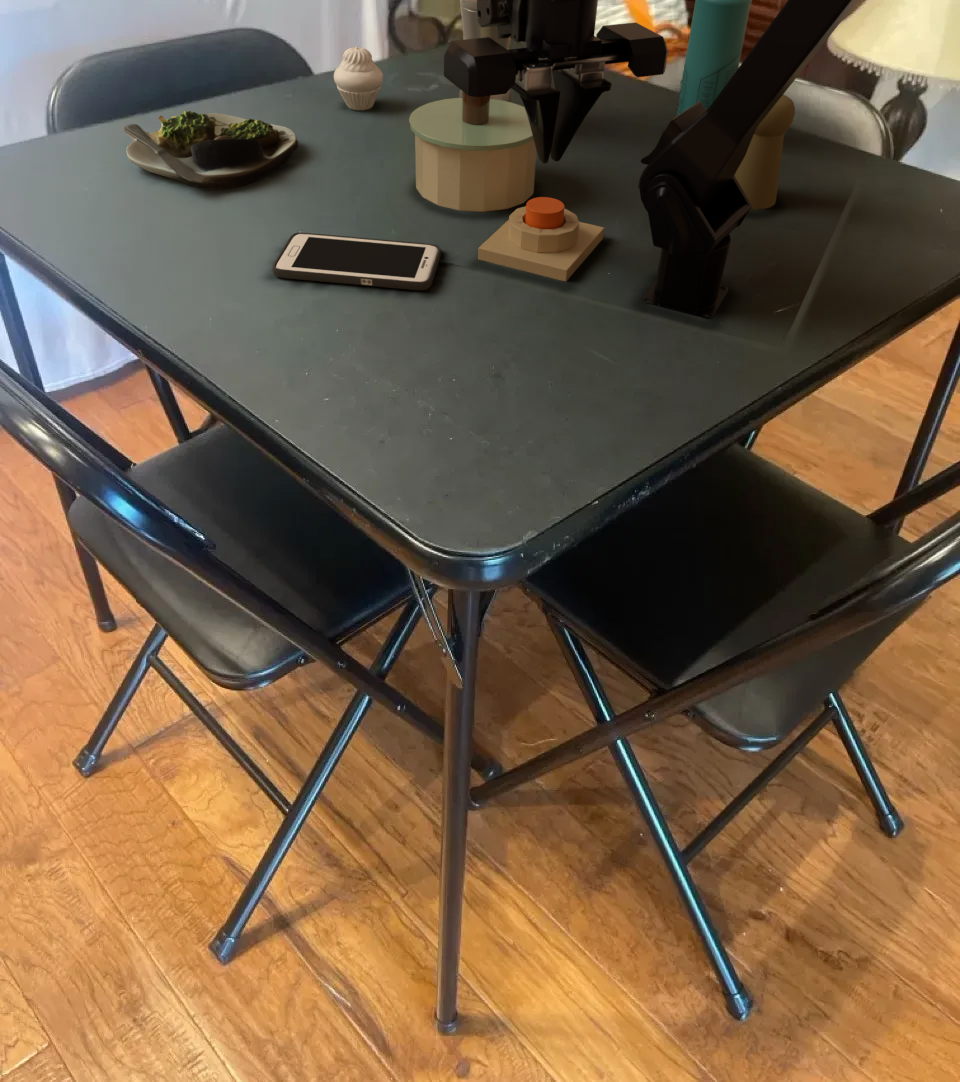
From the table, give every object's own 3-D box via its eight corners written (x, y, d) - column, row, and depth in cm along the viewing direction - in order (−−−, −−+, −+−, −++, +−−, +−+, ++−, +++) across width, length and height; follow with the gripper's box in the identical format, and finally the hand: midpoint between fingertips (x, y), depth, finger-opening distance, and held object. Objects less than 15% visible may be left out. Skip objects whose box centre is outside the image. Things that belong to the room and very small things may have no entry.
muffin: (335, 97, 119) (331, 38, 114) (383, 97, 120) (381, 38, 115) (335, 115, 115) (331, 54, 110) (385, 114, 115) (382, 54, 110)
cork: (776, 217, 97) (804, 108, 90) (718, 210, 98) (741, 102, 90) (774, 194, 102) (801, 88, 94) (719, 188, 102) (741, 82, 95)
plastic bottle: (520, 126, 114) (531, -63, 100) (491, 143, 110) (499, -53, 96) (476, 115, 116) (482, -72, 102) (446, 131, 112) (448, -62, 98)
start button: (554, 234, 86) (556, 216, 84) (519, 226, 87) (520, 208, 86) (568, 219, 88) (570, 201, 87) (534, 211, 89) (535, 193, 88)
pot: (503, 226, 94) (507, 156, 89) (395, 200, 97) (393, 132, 93) (550, 182, 102) (556, 116, 97) (449, 159, 106) (450, 95, 101)
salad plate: (78, 166, 101) (66, 122, 98) (185, 116, 113) (177, 76, 109) (220, 205, 95) (212, 160, 92) (317, 148, 107) (314, 106, 104)
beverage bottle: (713, 151, 110) (752, -43, 96) (662, 139, 112) (693, -52, 99) (732, 135, 114) (773, -53, 100) (683, 123, 116) (716, -62, 103)
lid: (511, 166, 89) (514, 105, 85) (385, 141, 92) (383, 81, 88) (559, 121, 98) (564, 65, 94) (443, 100, 101) (444, 44, 98)
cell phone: (293, 240, 90) (292, 231, 89) (442, 254, 89) (442, 244, 88) (270, 278, 84) (269, 268, 83) (429, 293, 83) (429, 283, 82)
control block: (565, 287, 85) (569, 251, 83) (477, 264, 88) (478, 229, 85) (602, 243, 92) (606, 209, 89) (519, 223, 94) (522, 190, 92)
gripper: (615, -67, 81) (594, 118, 92) (417, -54, 75) (420, 142, 86) (686, -37, 74) (654, 159, 84) (474, -21, 68) (469, 189, 78)
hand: (549, 160), depth 83 cm, fingers closed
